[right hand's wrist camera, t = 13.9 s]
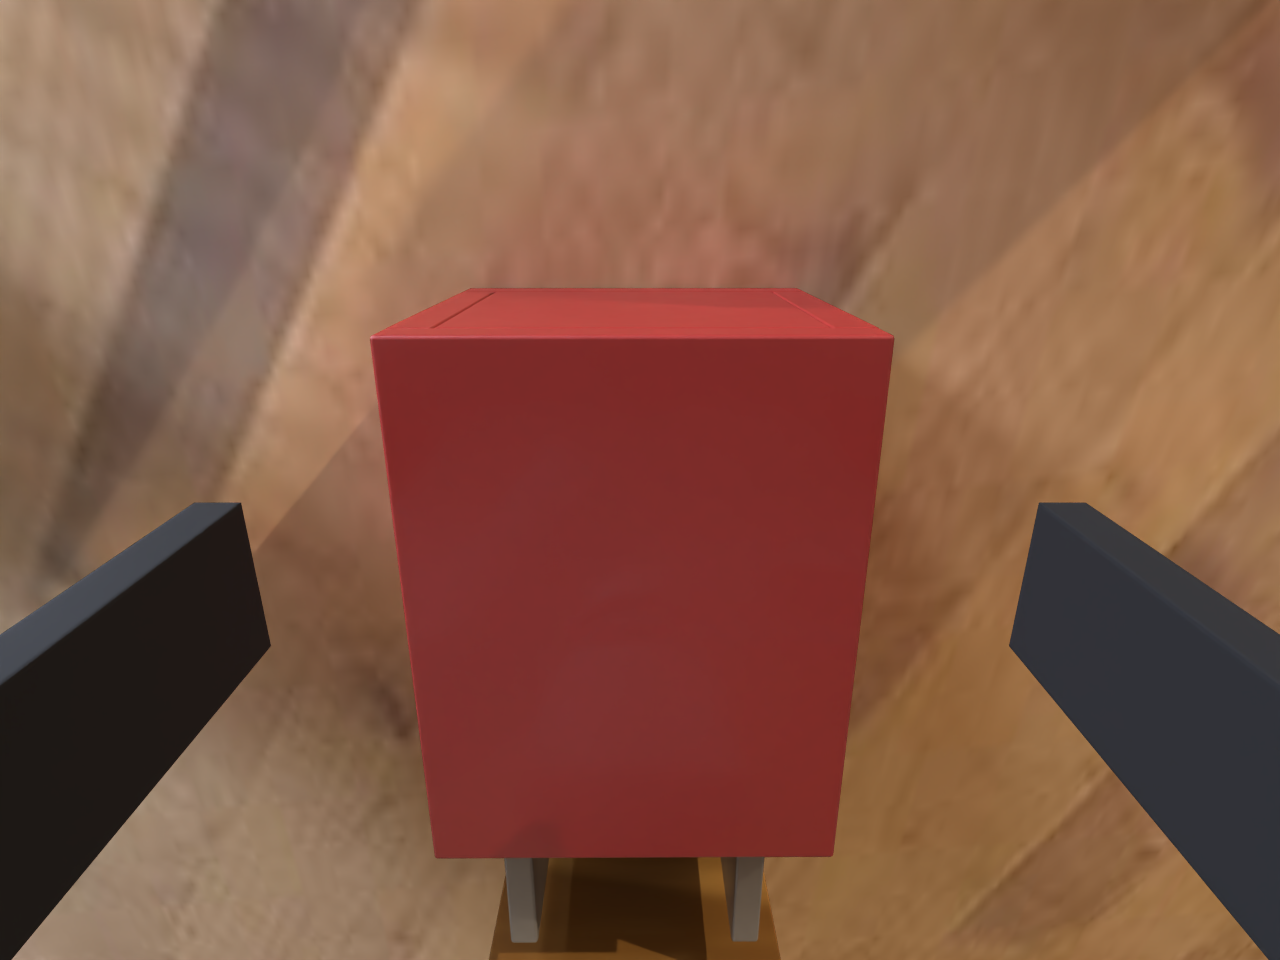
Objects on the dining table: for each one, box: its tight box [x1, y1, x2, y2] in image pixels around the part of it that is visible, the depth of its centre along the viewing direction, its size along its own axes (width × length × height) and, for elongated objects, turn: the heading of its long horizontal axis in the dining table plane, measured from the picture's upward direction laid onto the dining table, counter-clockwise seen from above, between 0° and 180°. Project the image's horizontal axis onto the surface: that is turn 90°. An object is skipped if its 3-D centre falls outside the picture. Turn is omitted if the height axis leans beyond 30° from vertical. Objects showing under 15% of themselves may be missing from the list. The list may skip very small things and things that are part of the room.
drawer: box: [489, 857, 781, 960], centre depth 25 cm, size 18×9×7 cm, turn 0°
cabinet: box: [370, 288, 894, 858], centre depth 21 cm, size 13×10×9 cm
